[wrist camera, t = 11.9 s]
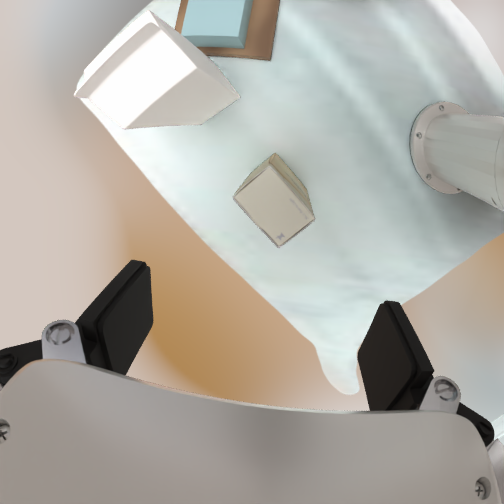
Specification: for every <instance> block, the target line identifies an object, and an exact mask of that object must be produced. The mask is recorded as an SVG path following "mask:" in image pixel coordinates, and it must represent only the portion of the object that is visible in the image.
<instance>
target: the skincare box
mask: <svg viewBox="0 0 504 504" xmlns="http://www.w3.org/2000/svg"><path fill="white" fill-rule="evenodd" d="M233 200H234V201H235V202H236V203H237V204H238V205H239V207H240V208H241V209H242V210H243V211H244V212H245V213H246V214H247V215H248V217H249V218H250V219H251V220H252V221H253V222H254V223H255V224H256V225H257V226H258V227H259V229H260V230H261V231H262V232H263V233H264V234H265V235H266V236H267V237H268V238H269V239H270V240H271V241H272V242H273V243H274V244H275V245H276V247H277V248H280V247H281V246H282V245H284V244H285V243H287V242H288V241H289V240H291V239H292V238H293V237H295V236H296V235H297V234H299V233H300V232H301V231H303V230H304V229H305V228H306V227H308V226H309V225H310V224H311V223H312V222H314V221H315V217H314V214H313V210H312V207H311V203H310V200H309V196H308V193H307V189H306V188H305V187H304V186H303V184H302V183H301V182H300V180H299V179H298V178H297V177H296V176H295V174H294V173H293V172H292V171H291V170H290V168H289V167H288V166H287V165H286V164H285V163H284V162H283V161H282V159H281V158H280V157H279V156H278V155H277V154H276V153H274V154H273V155H272V156H271V157H269V158H268V159H267V160H266V161H264V162H263V163H262V164H261V165H260V166H258V167H257V168H256V169H255V170H254V171H253V172H251V174H250V175H249V176H248V177H247V179H246V180H245V181H244V182H243V184H242V185H241V186H240V187H239V189H238V190H237V191H236V193H235V194H234V195H233Z"/></svg>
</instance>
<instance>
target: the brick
mask: <svg viewBox="0 0 504 504" xmlns="http://www.w3.org/2000/svg"><path fill="white" fill-rule="evenodd" d="M252 4H253V0H189V1H188V5H187V9H186V13H185V18H184V22H183V27H182V32H181V35H182V36H184V37H185V38H186V39H187V40H188V41H190V42H191V43H192V44H193V45H194V46H196V47H224V48H239V49H244V48H245V42H246V36H247V31H248V25H249V20H250V14H251V9H252Z"/></svg>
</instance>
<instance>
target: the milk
mask: <svg viewBox="0 0 504 504" xmlns="http://www.w3.org/2000/svg"><path fill="white" fill-rule="evenodd" d="M84 79H85V81H84V82H83V84H82V85H81V86H80V87H79V88H78V89H77V90H76V92H75V94H74V96H75V97H76V98H88V99H89V100H90V101H91V102H92V103H94V104H95V105H96V106H97V107H98V108H99V109H101V110H102V111H103V112H104V113H105V114H106V115H107V116H109V117H110V118H111V119H112V120H113V121H114V122H115V123H117V124H118V125H119V126H120V127H121V128H123V129H134V128H146V127H160V126H180V125H202V124H203V123H205V122H206V121H208V120H209V119H210V118H212V117H213V116H215V115H216V114H217V113H219V112H220V111H222V110H223V109H224V108H226V107H227V106H229V105H230V104H232V103H233V102H235V101H236V100H238V99H239V98H240V95H239V94H238V93H237V91H236V90H235V89H234V87H233V86H232V85H231V83H230V82H229V81H228V80H227V78H226V77H225V76H224V74H223V73H222V72H221V71H220V69H219V68H218V67H217V66H216V64H215V63H214V62H213V61H212V60H211V59H210V58H208V57H207V56H206V55H205V54H204V53H203V52H202V51H200V50H199V49H198V48H197V47H196V46H194V45H193V44H192V43H191V42H190V41H188V40H187V39H186V38H185V37H184V36H182V35H181V34H180V33H179V32H177V31H176V30H175V29H173V28H172V27H171V26H170V25H168V24H167V23H166V22H164V21H163V20H162V19H160V18H159V17H158V16H156V15H155V14H154V13H152V12H151V11H149V10H148V11H146V12H145V13H144V14H143V15H141V16H140V17H139V18H138V19H136V20H135V21H134V22H133V23H132V24H131V25H129V26H128V27H127V28H126V29H125V30H124V31H123V32H122V33H120V34H119V35H118V36H117V37H116V38H115V39H114V40H113V41H112V42H111V43H110V44H109V45H108V46H107V47H106V48H105V49H104V50H103V51H102V52H101V53H100V54H99V55H98V56H97V57H96V58H95V59H94V60H93V61H92V62H91V63H90V64H89V65H88V67H86V69H85V70H84Z"/></svg>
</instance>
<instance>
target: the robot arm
mask: <svg viewBox="0 0 504 504" xmlns="http://www.w3.org/2000/svg"><path fill="white" fill-rule="evenodd" d="M439 108H440V109H439ZM416 134H417V135H418V136H417V137H416ZM410 148H411V156H412V160H413V163H414V166H415V168H416V170H417V172H418V174H419V175H420V177H421V178H422V179H423V180H424V182H425V183H426V184H427V185H429V186H430V187H431V188H433V189H435V190H437V191H439V192H441V193H444V194H456V193H460V192H462V191H465V192H467V193H469V194H471V195H473V196H475V197H477V198H479V199H480V200H482V201H484V202H486V203H488V204H490V205H492V206H494V207H495V208H497V209H499V210H501V211H502V212H504V117H500V116H489V115H473V114H469V113H468V112H467V111H466V110H465V109H463V108H462V107H460V106H459V105H456V104H454V103H450V102H437V103H434V104H431V105H429V106H427V107H426V108H425V109H423V110H422V111H421V112H420V114H419V115H418V117H417V118H416V120H415V122H414V125H413V127H412V132H411V138H410ZM426 175H427V177H426ZM152 325H153V309H152V294H151V274H150V267H148V266H147V265H146V263H145V262H142V261H137V260H131V261H130V262H129V263H128V264H127V265H126V266H125V267H124V268H123V269H122V270H121V271H120V273H119V274H118V275H117V276H116V277H115V278H114V279H113V280H112V281H111V282H110V283H109V284H108V285H107V286H106V288H105V289H104V290H103V291H102V292H101V293H100V294H99V295H98V297H97V298H96V299H95V300H94V301H93V302H92V303H91V305H90V306H89V307H88V308H87V309H86V310H85V311H84V312H83V314H82V315H81V316H80V317H79V319H78V320H77V321H76V322H75V323H74V322H71V321H69V320H57V321H54V322H52V323H50V324H49V325H47V326H46V327H45V328H44V330H43V332H42V339H41V340H37V341H33V342H29V343H25V344H21V345H17V346H13V347H9V348H5V349H2V350H0V504H504V445H503V444H502V443H501V442H500V441H499V440H498V439H496V440H495V441H494V429H493V427H492V425H491V423H490V422H489V421H488V420H487V419H485V418H483V417H482V416H480V415H479V414H477V413H476V412H474V411H473V410H471V409H470V408H468V407H466V406H465V405H463V404H462V403H460V402H459V401H460V397H461V393H460V389H459V387H458V386H457V384H456V383H454V382H453V381H452V380H451V379H449V378H447V377H444V376H438V377H435V378H434V377H433V375H432V374H433V372H434V369H433V367H432V365H431V363H430V360H429V359H428V356H427V354H426V352H425V350H424V348H423V346H422V344H421V342H420V341H419V338H418V336H417V334H416V333H415V331H414V329H413V327H412V325H411V323H410V321H409V320H408V317H407V316H406V314H405V312H404V310H403V308H402V307H401V305H400V303H399V302H395V301H385V302H384V303H383V304H380V305H379V308H378V310H377V312H376V314H375V317H374V319H373V321H372V324H371V326H370V328H369V330H368V332H367V334H366V337H365V339H364V341H363V343H362V345H361V347H360V349H359V351H358V362H359V366H360V370H361V374H362V378H363V383H364V387H365V391H366V395H367V400H368V404H369V408H370V411H335V410H334V411H333V410H313V409H299V408H288V407H278V406H269V405H261V404H253V403H246V402H240V401H234V400H228V399H222V398H216V397H211V396H205V395H201V394H196V393H191V392H187V391H182V390H178V389H174V388H170V387H166V386H162V385H158V384H154V383H151V382H147V381H143V380H140V379H136V378H132V377H129V376H126V373H127V372H128V370H129V368H130V366H131V364H132V362H133V360H134V358H135V357H136V355H137V353H138V351H139V349H140V347H141V346H142V344H143V342H144V340H145V338H146V337H147V335H148V333H149V331H150V329H151V327H152Z"/></svg>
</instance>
